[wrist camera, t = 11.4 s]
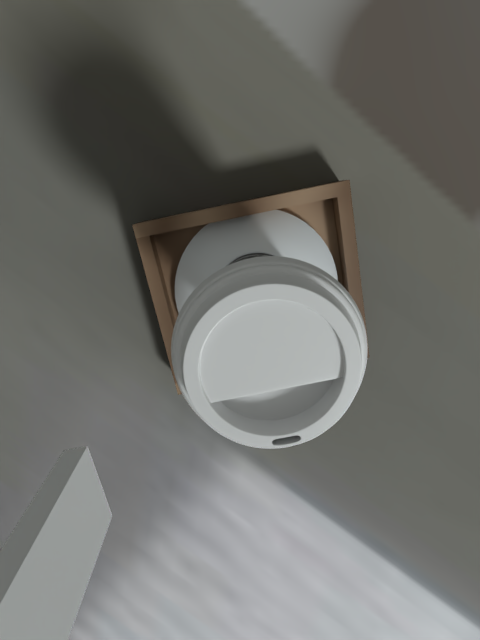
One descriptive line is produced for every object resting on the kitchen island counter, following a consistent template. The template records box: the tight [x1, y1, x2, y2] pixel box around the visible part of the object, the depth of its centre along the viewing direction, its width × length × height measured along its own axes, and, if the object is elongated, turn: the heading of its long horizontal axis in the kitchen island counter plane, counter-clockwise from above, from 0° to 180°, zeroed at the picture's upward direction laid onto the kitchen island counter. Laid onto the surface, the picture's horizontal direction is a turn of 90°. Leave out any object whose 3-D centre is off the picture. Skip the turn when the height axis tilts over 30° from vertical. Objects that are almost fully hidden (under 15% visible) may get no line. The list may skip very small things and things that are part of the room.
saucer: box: [175, 210, 338, 313], centre depth 33 cm, size 13×13×1 cm
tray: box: [132, 180, 369, 394], centre depth 33 cm, size 16×14×3 cm
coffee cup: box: [171, 253, 368, 449], centre depth 25 cm, size 10×10×15 cm
